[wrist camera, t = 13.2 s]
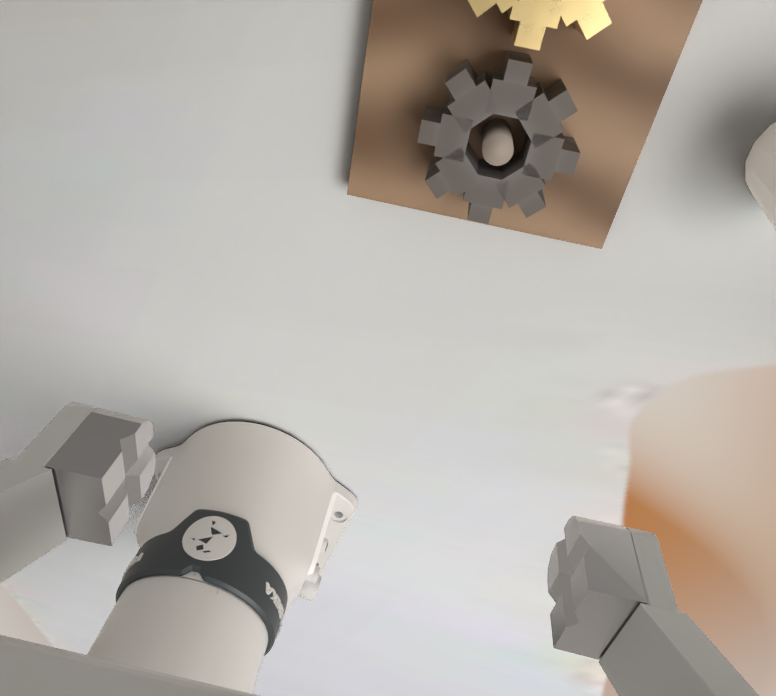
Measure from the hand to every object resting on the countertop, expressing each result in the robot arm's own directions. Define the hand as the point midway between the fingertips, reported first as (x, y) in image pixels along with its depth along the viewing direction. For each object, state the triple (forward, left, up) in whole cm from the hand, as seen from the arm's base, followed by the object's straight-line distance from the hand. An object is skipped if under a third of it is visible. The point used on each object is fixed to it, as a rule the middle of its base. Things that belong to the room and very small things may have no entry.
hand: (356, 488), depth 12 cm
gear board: (+5, -3, -29) cm, 30 cm away
